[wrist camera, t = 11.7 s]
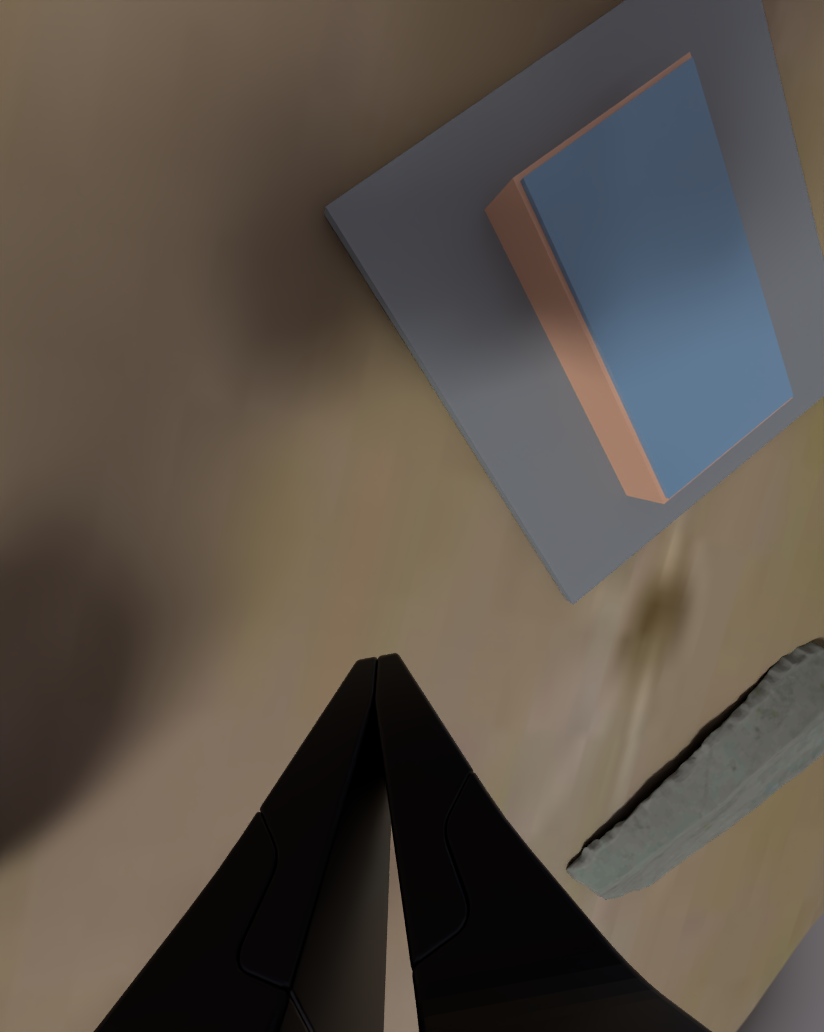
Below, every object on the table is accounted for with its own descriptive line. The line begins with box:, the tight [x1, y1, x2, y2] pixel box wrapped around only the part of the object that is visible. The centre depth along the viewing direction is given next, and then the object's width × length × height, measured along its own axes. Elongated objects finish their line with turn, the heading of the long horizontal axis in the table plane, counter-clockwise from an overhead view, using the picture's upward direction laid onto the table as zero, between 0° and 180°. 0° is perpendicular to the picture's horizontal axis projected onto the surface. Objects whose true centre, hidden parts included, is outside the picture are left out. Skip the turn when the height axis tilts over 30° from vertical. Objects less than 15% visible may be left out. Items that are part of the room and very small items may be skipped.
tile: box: [485, 52, 794, 504], centre depth 17 cm, size 2×14×8 cm
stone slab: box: [566, 642, 824, 900], centre depth 28 cm, size 22×3×10 cm
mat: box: [324, 0, 824, 604], centre depth 19 cm, size 20×20×1 cm
